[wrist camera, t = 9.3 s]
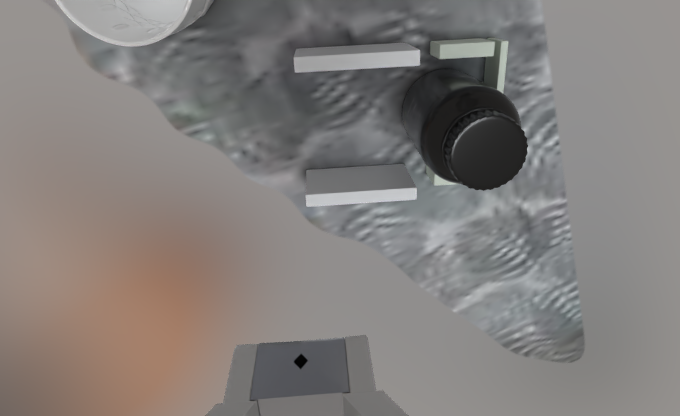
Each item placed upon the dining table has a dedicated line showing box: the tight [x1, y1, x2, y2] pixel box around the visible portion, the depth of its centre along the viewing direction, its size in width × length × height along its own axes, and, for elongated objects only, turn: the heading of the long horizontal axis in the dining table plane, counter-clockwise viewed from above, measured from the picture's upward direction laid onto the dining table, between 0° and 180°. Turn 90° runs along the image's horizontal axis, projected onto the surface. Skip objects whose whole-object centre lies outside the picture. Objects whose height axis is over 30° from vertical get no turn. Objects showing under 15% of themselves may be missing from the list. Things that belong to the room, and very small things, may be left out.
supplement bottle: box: [402, 69, 528, 190], centre depth 33 cm, size 7×7×12 cm
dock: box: [426, 37, 508, 186], centre depth 37 cm, size 11×5×3 cm, turn 3°
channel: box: [294, 43, 420, 207], centre depth 35 cm, size 11×8×6 cm
